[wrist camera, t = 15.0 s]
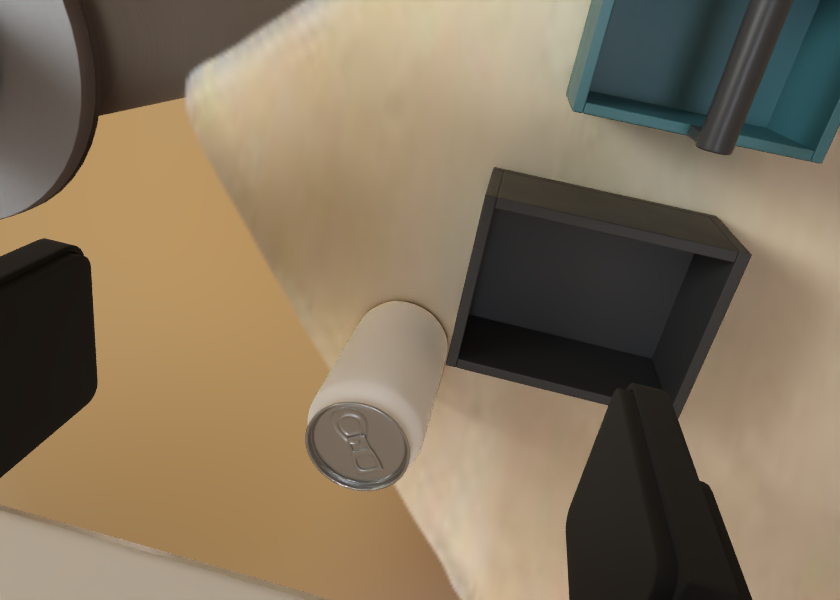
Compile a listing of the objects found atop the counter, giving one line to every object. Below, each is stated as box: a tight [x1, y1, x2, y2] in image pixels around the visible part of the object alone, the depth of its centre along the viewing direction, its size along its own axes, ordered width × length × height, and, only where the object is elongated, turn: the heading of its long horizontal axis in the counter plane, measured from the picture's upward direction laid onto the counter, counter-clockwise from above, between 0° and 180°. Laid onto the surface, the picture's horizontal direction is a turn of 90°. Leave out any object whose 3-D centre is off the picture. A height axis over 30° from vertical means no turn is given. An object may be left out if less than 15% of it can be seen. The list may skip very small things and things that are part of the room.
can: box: [305, 301, 447, 491], centre depth 37 cm, size 6×6×12 cm
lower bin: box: [446, 167, 751, 419], centre depth 36 cm, size 13×10×7 cm
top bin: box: [566, 0, 840, 164], centre depth 27 cm, size 11×8×11 cm
